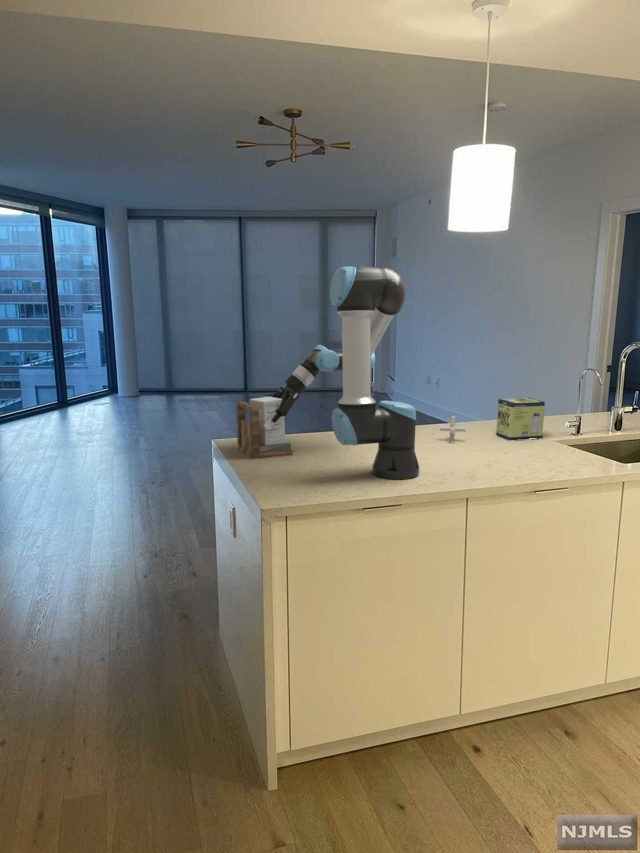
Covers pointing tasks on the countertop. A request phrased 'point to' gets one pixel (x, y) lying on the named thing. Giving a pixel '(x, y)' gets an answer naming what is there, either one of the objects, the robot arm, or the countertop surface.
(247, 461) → the countertop surface
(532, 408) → the protein box
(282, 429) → the supplement box
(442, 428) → the pipe connector
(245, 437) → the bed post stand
